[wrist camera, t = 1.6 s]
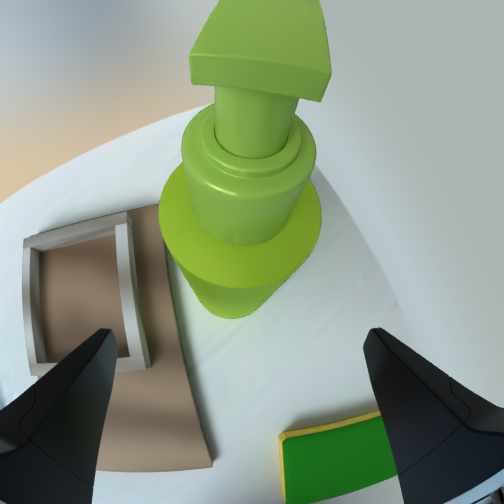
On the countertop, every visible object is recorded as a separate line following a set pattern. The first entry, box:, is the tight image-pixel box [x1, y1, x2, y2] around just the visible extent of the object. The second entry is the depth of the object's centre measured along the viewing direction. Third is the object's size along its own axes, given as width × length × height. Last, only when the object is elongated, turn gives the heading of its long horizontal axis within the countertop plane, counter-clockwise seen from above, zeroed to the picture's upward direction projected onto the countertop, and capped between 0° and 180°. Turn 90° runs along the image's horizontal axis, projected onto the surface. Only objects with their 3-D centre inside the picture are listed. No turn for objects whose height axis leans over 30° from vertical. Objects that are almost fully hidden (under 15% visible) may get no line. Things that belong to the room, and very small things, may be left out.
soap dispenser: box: [159, 0, 331, 319], centre depth 13 cm, size 6×7×20 cm
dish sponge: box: [278, 410, 398, 504], centre depth 18 cm, size 7×14×2 cm, turn 94°
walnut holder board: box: [22, 204, 213, 472], centre depth 18 cm, size 22×14×3 cm, turn 13°
